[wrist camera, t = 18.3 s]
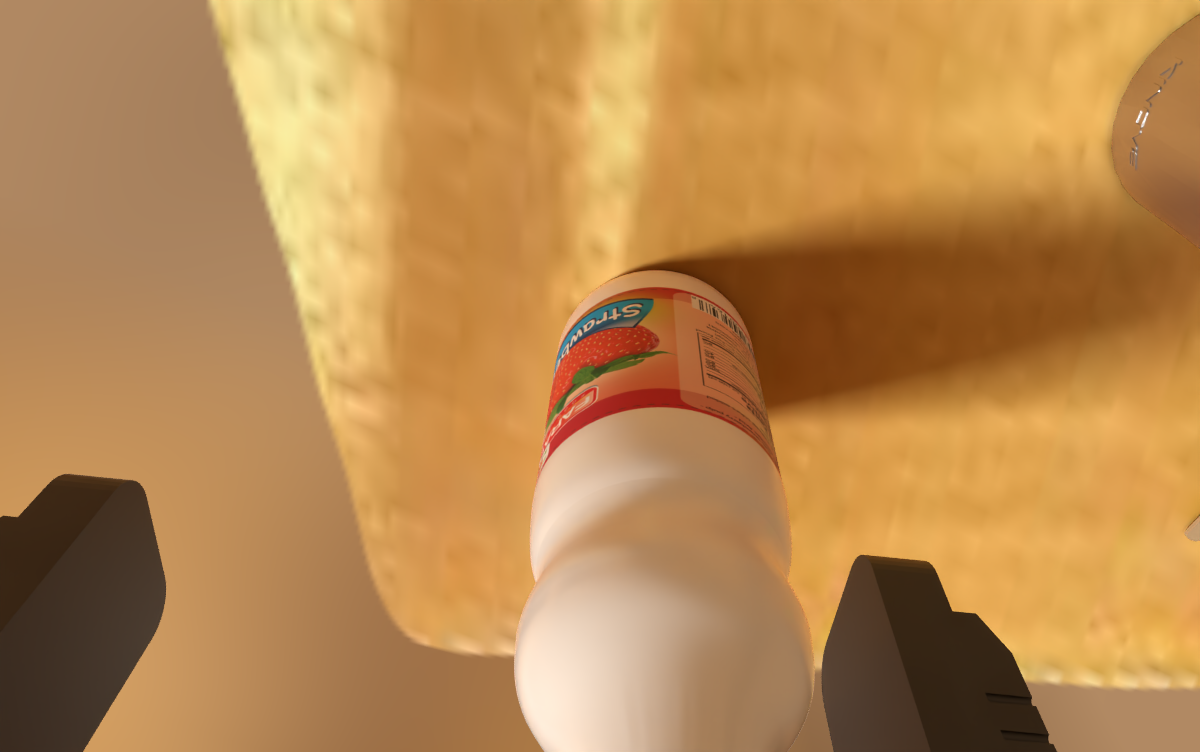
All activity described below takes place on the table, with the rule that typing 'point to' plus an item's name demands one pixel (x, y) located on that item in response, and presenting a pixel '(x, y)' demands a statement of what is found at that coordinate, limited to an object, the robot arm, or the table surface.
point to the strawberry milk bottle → (660, 537)
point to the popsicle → (1194, 530)
